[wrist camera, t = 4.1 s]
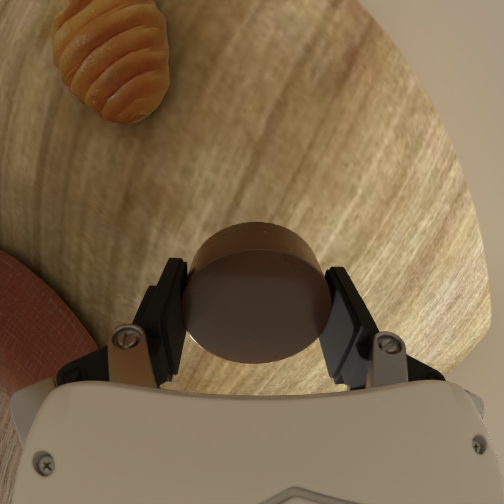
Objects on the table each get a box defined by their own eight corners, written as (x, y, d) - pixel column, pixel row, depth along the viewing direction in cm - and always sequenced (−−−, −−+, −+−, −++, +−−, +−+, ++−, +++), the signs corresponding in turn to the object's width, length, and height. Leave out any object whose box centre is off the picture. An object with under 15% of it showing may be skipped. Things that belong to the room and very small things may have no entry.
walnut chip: (187, 217, 11) (174, 244, 9) (330, 227, 11) (349, 253, 9) (192, 325, 14) (186, 360, 12) (305, 329, 14) (313, 363, 12)
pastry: (205, 88, 12) (193, 79, 9) (107, 146, 14) (73, 158, 10) (146, -21, 8) (125, -46, 5) (59, 39, 9) (24, 31, 6)
